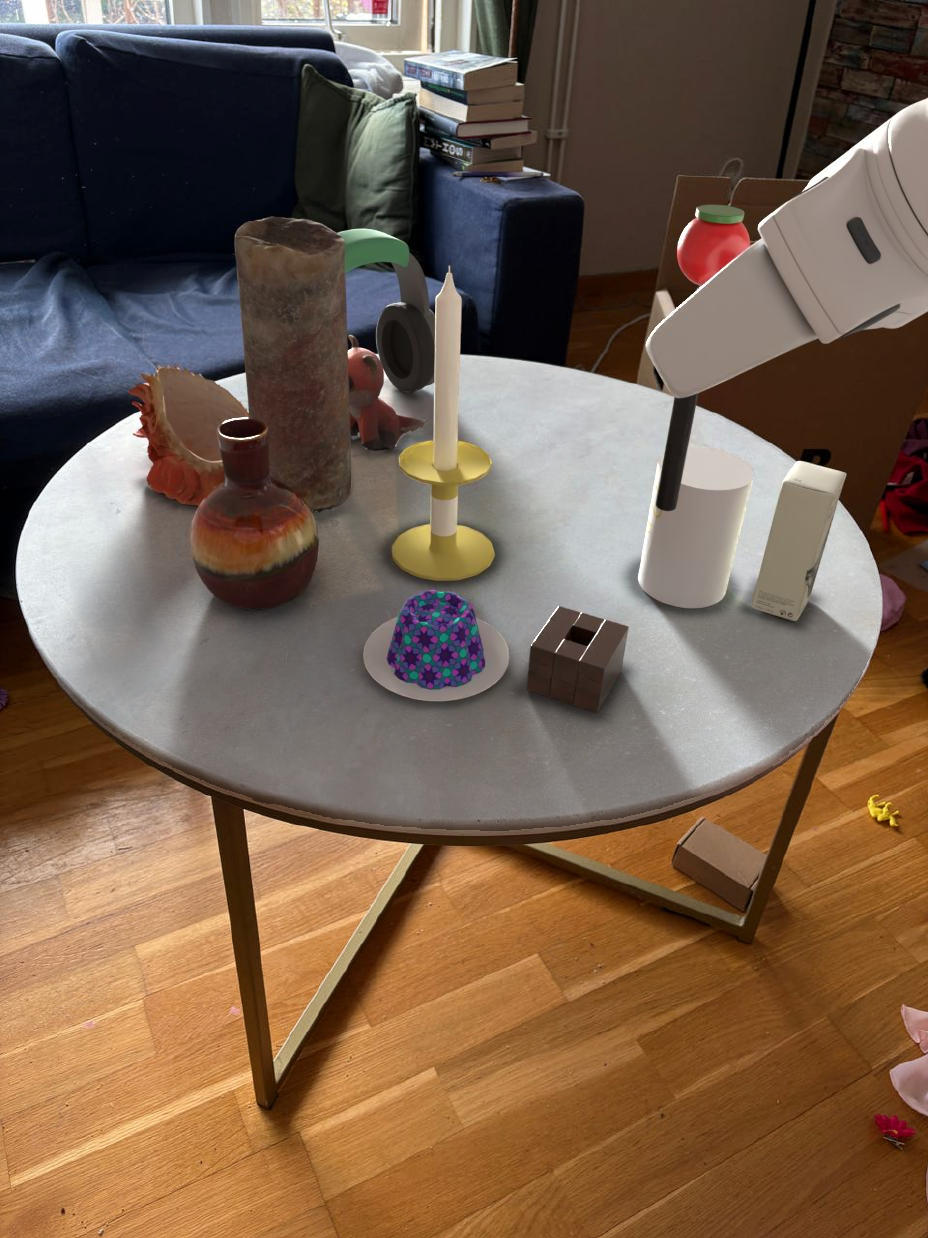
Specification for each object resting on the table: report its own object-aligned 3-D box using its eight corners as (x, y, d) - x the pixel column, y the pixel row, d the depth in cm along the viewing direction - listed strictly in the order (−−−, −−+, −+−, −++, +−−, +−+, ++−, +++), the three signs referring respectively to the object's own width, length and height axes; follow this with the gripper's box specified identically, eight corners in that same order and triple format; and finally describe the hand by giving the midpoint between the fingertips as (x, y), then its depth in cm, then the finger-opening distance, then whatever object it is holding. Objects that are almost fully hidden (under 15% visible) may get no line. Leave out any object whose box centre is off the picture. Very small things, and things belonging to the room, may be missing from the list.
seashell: (140, 525, 96) (287, 508, 98) (114, 431, 89) (274, 416, 91) (147, 440, 109) (277, 427, 111) (125, 352, 102) (265, 340, 104)
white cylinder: (661, 550, 92) (682, 437, 85) (739, 578, 89) (768, 464, 81) (622, 586, 87) (641, 470, 80) (704, 619, 83) (731, 500, 76)
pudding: (488, 722, 72) (491, 668, 68) (341, 690, 74) (337, 637, 71) (523, 631, 81) (527, 581, 78) (391, 606, 83) (390, 556, 80)
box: (796, 624, 83) (835, 496, 75) (747, 608, 85) (780, 481, 77) (811, 596, 87) (849, 470, 79) (764, 581, 88) (797, 457, 81)
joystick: (702, 501, 64) (764, 207, 53) (686, 527, 61) (748, 222, 50) (646, 486, 65) (694, 198, 54) (627, 511, 62) (675, 212, 51)
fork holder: (621, 670, 77) (629, 626, 74) (597, 713, 73) (604, 668, 70) (553, 648, 79) (558, 605, 76) (526, 689, 75) (530, 645, 72)
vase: (289, 632, 80) (273, 469, 71) (173, 607, 82) (143, 445, 73) (341, 565, 88) (332, 411, 79) (234, 544, 91) (214, 392, 82)
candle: (475, 520, 96) (488, 245, 80) (509, 572, 88) (530, 280, 72) (380, 533, 93) (373, 251, 77) (406, 588, 86) (404, 288, 70)
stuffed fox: (440, 443, 110) (442, 343, 103) (355, 466, 104) (351, 361, 97) (407, 419, 115) (406, 322, 108) (324, 440, 109) (318, 339, 102)
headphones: (405, 369, 128) (405, 213, 116) (452, 397, 121) (456, 234, 109) (279, 399, 118) (264, 232, 106) (322, 431, 111) (311, 257, 99)
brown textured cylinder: (339, 472, 103) (326, 212, 87) (368, 515, 96) (359, 239, 80) (246, 487, 100) (214, 219, 84) (269, 533, 93) (239, 249, 77)
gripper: (927, 150, 53) (735, 287, 64) (766, 209, 40) (560, 367, 51) (981, 248, 54) (781, 367, 64) (838, 337, 41) (619, 467, 52)
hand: (682, 368), depth 58 cm, fingers closed on joystick
